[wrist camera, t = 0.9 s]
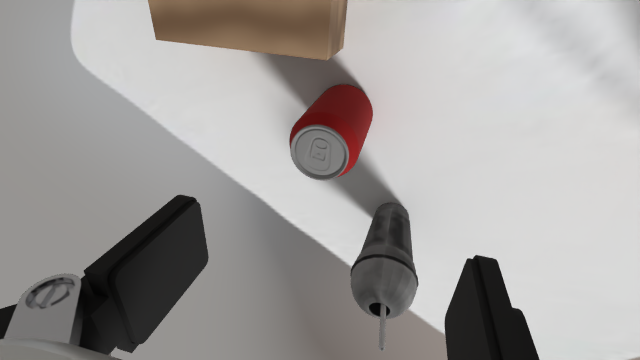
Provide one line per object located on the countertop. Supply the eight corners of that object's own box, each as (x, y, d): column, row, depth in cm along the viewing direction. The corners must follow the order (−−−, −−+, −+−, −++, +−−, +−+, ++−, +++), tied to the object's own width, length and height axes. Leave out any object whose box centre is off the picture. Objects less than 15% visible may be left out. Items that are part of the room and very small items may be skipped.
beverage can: (314, 128, 40) (278, 174, 31) (324, 75, 37) (288, 108, 27) (365, 143, 40) (345, 196, 30) (381, 91, 36) (365, 131, 26)
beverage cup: (355, 217, 46) (317, 346, 29) (387, 184, 42) (363, 314, 25) (396, 245, 46) (381, 387, 30) (431, 215, 42) (436, 361, 26)
